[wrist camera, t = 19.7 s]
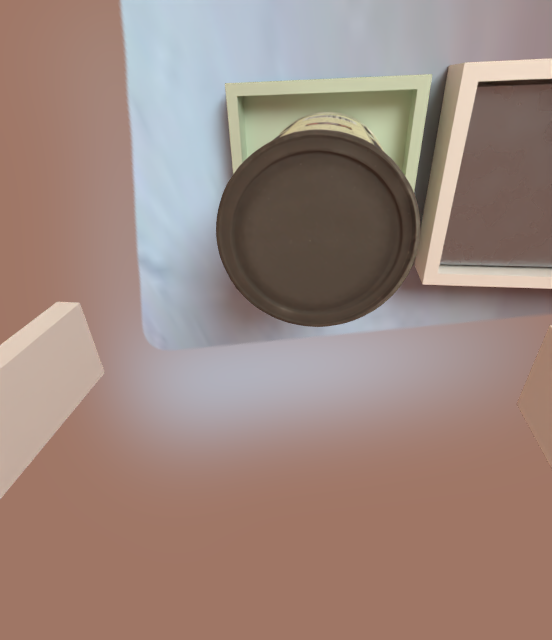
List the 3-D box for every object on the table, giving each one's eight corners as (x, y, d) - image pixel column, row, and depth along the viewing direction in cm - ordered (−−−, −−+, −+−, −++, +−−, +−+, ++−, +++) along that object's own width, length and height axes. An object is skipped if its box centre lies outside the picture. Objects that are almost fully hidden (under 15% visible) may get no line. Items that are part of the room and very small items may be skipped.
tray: (425, 75, 27) (432, 74, 24) (397, 259, 34) (401, 270, 32) (233, 83, 29) (224, 83, 26) (247, 255, 36) (241, 266, 34)
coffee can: (289, 257, 35) (262, 345, 23) (242, 143, 30) (179, 181, 18) (402, 219, 31) (439, 300, 20) (369, 85, 27) (392, 87, 15)
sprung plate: (682, 78, 23) (695, 78, 22) (599, 263, 30) (606, 268, 29) (471, 86, 25) (476, 86, 24) (436, 259, 32) (438, 264, 31)
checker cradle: (695, 53, 24) (753, 48, 21) (597, 269, 32) (627, 291, 28) (448, 65, 26) (464, 62, 23) (414, 264, 34) (422, 284, 31)
